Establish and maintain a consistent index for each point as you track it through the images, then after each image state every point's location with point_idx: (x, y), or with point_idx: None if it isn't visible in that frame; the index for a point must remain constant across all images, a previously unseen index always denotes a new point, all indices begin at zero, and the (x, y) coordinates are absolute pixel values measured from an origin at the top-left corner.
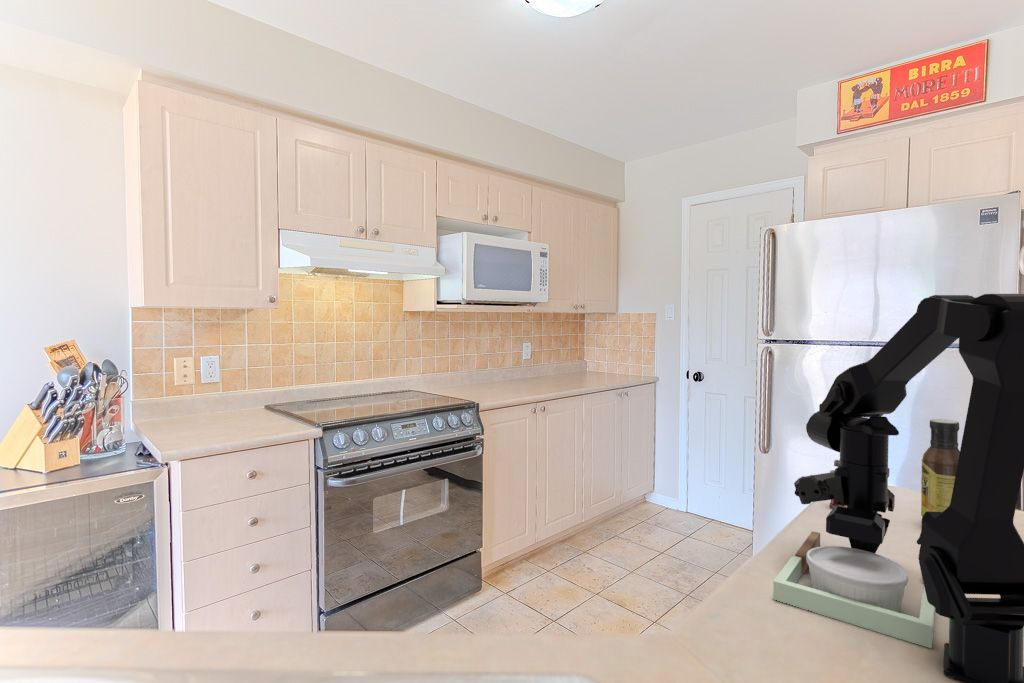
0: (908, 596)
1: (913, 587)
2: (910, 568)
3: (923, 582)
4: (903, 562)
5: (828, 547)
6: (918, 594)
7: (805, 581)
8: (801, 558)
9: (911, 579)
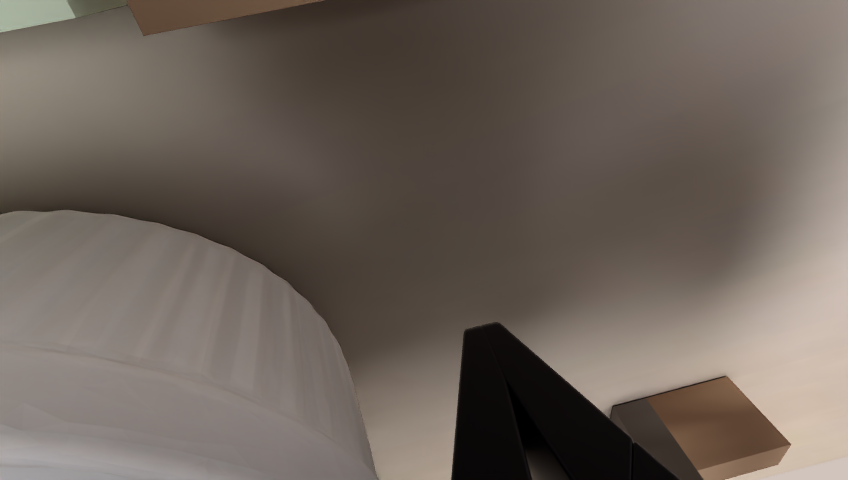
0: (440, 427)
1: None
2: (756, 338)
3: (613, 411)
4: (820, 303)
5: (133, 475)
6: None
7: (69, 86)
8: (86, 14)
9: (630, 377)
